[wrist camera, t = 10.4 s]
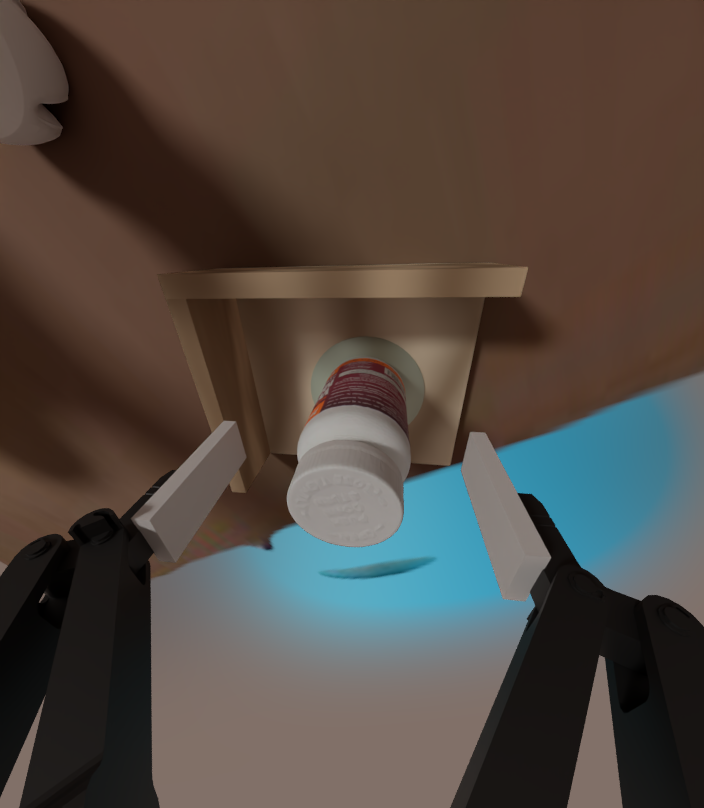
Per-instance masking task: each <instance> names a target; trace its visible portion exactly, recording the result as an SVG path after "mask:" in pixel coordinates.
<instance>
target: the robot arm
mask: <svg viewBox="0 0 704 808" xmlns="http://www.w3.org/2000/svg"><path fill="white" fill-rule="evenodd" d="M246 458H247V457H246V454H245V450H244V447H243V443H242V440H241V436H240V433H239V430H238V426H237V423H236V421H223V422H222V423H221V424H220V425H219V426H218V427H217V428H216V430H215V431H214V432H213V433H212V434H211V435H210V436H209V437H208V438H207V439H206V440H205V441H204V442H203V443H202V444H201V445H200V446H199V447H198V448H197V450H196V451H195V452H194V453H193V454H192V455H191V456H190V457H189V458H188V459H187V460H186V461H185V462H184V463H183V464H182V465H181V466H180V467H179V468H178V469H177V470H172V471H170V472H168V473H167V474H165V475H164V476H162V477H161V478H160V479H159V480H158V481H157V482H156V483H155V484H154V485H153V487H152V488H150V489H149V490H148V491H147V492H146V494H145V495H143V496H142V497H141V498H140V499H139V500H138V501H137V502H136V503H135V504H134V505H133V506H132V507H131V508H130V509H129V510H128V511H127V512H126V513H125V514H124V515H123V516H122V517H121V518H120V519H119V518H118V517H117V516H116V514H115V513H114V511H113V510H111V509H109V508H104V509H99V510H95V511H93V512H91V513H88V514H86V515H85V516H83V517H82V518H80V519H79V520H77V521H76V522H75V523H74V524H73V525H72V526H71V528H70V530H69V531H68V533H69V534H70V535H71V536H72V537H73V539H74V540H70V541H66V540H65V539H64V538H63V537H62V536H61V535H58V534H51V535H47V536H44V537H41V538H39V539H37V540H35V541H33V542H31V543H30V544H28V545H27V546H26V547H24V548H23V549H22V550H21V551H20V552H19V553H18V554H17V555H16V556H15V557H14V559H13V560H12V561H11V563H10V564H9V565H8V567H7V568H6V569H5V571H4V572H3V573H2V575H1V576H0V797H1V794H2V792H3V790H4V787H5V785H6V783H7V781H8V778H9V776H10V774H11V771H12V769H13V767H14V765H15V763H16V760H17V758H18V756H19V753H20V751H21V749H22V747H23V744H24V742H25V740H26V738H27V735H28V733H29V731H30V728H31V726H32V724H33V722H34V719H35V717H36V715H37V713H38V710H39V708H40V706H41V704H42V701H43V699H44V697H45V700H44V704H43V708H42V713H41V717H40V721H39V726H38V730H37V734H36V738H35V743H34V747H33V751H32V756H31V760H30V764H29V768H28V773H27V777H26V781H25V786H24V790H23V794H22V798H21V803H20V807H19V808H160V807H159V802H158V797H157V794H156V792H155V789H154V786H153V780H152V731H151V728H152V726H151V725H152V724H151V596H150V595H151V594H150V593H151V591H150V589H151V588H150V563H149V561H148V559H149V558H150V557H151V555H152V554H153V553H154V554H155V555H156V557H157V558H158V560H159V561H166V562H175V563H176V561H177V560H178V558H179V557H180V555H181V554H182V552H183V551H184V549H185V548H186V546H187V545H188V544H189V542H190V541H191V539H192V538H193V536H194V535H195V533H196V532H197V530H198V529H199V527H200V526H201V524H202V523H203V521H204V520H205V518H206V517H207V515H208V514H209V512H210V511H211V509H212V508H213V506H214V505H215V504H216V502H217V501H218V499H219V498H220V496H221V495H222V493H223V492H224V490H225V489H226V487H227V486H228V484H229V483H230V481H231V480H232V478H233V477H234V475H235V474H236V472H237V471H238V469H239V468H240V466H241V465H242V464H243V462H244V461H245V459H246ZM461 472H462V475H463V478H464V481H465V484H466V487H467V491H468V494H469V497H470V500H471V503H472V506H473V509H474V512H475V515H476V518H477V521H478V524H479V527H480V530H481V533H482V536H483V539H484V542H485V545H486V549H487V552H488V555H489V557H490V561H491V564H492V567H493V570H494V573H495V576H496V579H497V582H498V585H499V588H500V591H501V594H502V597H503V599H508V600H517V601H526V599H527V597H528V596H529V594H531V596H532V599H533V601H534V603H535V607H534V609H533V610H532V612H531V613H530V615H529V616H528V618H527V620H528V623H527V625H526V628H525V630H524V632H523V635H522V637H521V640H520V642H519V644H518V647H517V649H516V652H515V654H514V656H513V659H512V661H511V664H510V666H509V668H508V671H507V673H506V676H505V678H504V680H503V683H502V685H501V687H500V690H499V692H498V695H497V697H496V699H495V702H494V704H493V707H492V709H491V711H490V714H489V716H488V719H487V721H486V723H485V726H484V728H483V730H482V733H481V735H480V738H479V740H478V742H477V745H476V747H475V750H474V752H473V755H472V757H471V759H470V762H469V764H468V766H467V769H466V771H465V774H464V776H463V779H462V781H461V783H460V786H459V788H458V790H457V793H456V795H455V798H454V800H453V803H452V805H451V807H450V808H567V804H568V800H569V795H570V790H571V785H572V780H573V776H574V771H575V767H576V762H577V757H578V752H579V747H580V743H581V738H582V733H583V729H584V724H585V719H586V715H587V710H588V705H589V701H590V696H591V691H592V687H593V681H594V677H595V672H596V668H597V663H598V658H599V655H601V656H603V657H605V661H606V671H607V679H608V687H609V695H610V704H611V713H612V721H613V730H614V738H615V746H616V755H617V763H618V772H619V780H620V788H621V796H622V805H623V808H704V627H703V625H702V624H701V623H700V622H699V621H698V620H697V619H696V618H695V617H694V616H693V615H692V614H691V613H690V612H688V611H687V610H686V609H684V608H683V607H682V606H680V605H679V604H677V603H675V602H673V601H671V600H669V599H667V598H664V597H661V596H658V595H648V596H647V597H645V598H644V599H643V600H642V601H639V600H637V599H634V598H632V597H629V596H626V595H624V594H621V593H618V592H616V591H613V590H611V589H609V588H606V587H605V586H604V585H603V584H602V583H601V582H600V581H599V580H598V579H597V578H596V577H595V576H594V575H592V574H591V573H590V572H588V571H587V570H585V569H583V568H581V567H580V565H579V564H578V562H577V561H576V559H575V557H574V556H573V554H572V552H571V551H570V549H569V547H568V546H567V544H566V542H565V541H564V539H563V537H562V536H561V534H560V532H559V531H558V529H557V528H556V527H555V524H554V522H553V521H552V519H551V518H550V517H549V514H548V512H547V511H546V509H545V508H544V506H543V505H542V503H541V502H540V501H538V500H537V499H536V498H535V497H534V496H533V495H532V494H522V493H517V492H516V490H515V488H514V486H513V484H512V482H511V481H510V478H509V477H508V475H507V473H506V471H505V469H504V467H503V465H502V464H501V461H500V460H499V458H498V456H497V454H496V452H495V450H494V448H493V446H492V444H491V442H490V441H489V439H488V437H487V435H486V433H482V432H470V435H469V439H468V443H467V447H466V451H465V455H464V460H463V464H462V468H461ZM43 593H45V594H46V595H45V597H44V598H43V600H42V601H41V602H40V603H39V601H40V599H41V597H42V595H43Z"/></svg>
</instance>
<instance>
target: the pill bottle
mask: <svg viewBox="0 0 704 808" xmlns="http://www.w3.org/2000/svg"><path fill="white" fill-rule="evenodd" d="M297 457H298V462H299V463H298V465H297V468H296V471H295V474H294V476H293V479H292V481H291V484H290V486H289V489H288V493H287V505H288V509H289V512H290V514H291V516H292V517H293V519H294V520H295V521H296V523H297V524H298V525H299V526H300V527H301V528H303V529H304V530H305V531H306V532H307V533H309V534H311V535H313V536H314V537H316V538H318V539H320V540H322V541H325V542H328V543H331V544H335V545H340V546H347V547H364V546H370V545H374V544H378V543H380V542H382V541H385V540H386V539H388V538H389V537H391V536H392V535H393V534H394V533H395V532H396V531H397V530H398V528H399V527H400V525H401V522H402V519H403V514H404V501H403V482H404V481H405V479H406V477H407V475H408V473H409V469H410V464H411V453H410V441H409V432H408V422H407V410H406V396H405V388H404V384H403V381H402V379H401V377H400V375H399V374H398V373H397V371H396V370H395V369H394V368H393V367H392V366H390V365H389V364H387V363H386V362H384V361H382V360H379V359H376V358H372V357H356V358H352V359H349V360H346V361H344V362H343V363H341V364H340V365H339V366H337V367H336V368H335V369H334V371H333V372H332V373H331V375H330V377H329V378H328V380H327V382H326V384H325V386H324V388H323V390H322V392H321V394H320V396H319V398H318V400H317V402H316V404H315V406H314V408H313V410H312V412H311V414H310V416H309V418H308V420H307V422H306V424H305V427H304V429H303V431H302V433H301V436H300V438H299V441H298V447H297Z"/></svg>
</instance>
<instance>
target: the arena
mask: <svg viewBox="0 0 704 808" xmlns="http://www.w3.org/2000/svg"><path fill="white" fill-rule="evenodd" d="M527 271H528V267H522V266H514V265H505V264H497V263H489V262H480V263H435V264H389V265H343V266H297V267H252V268H216V269H207V270H197V271H187V272H177V273H167V274H157V276H158V279H159V282H160V285H161V287H162V290H163V293H164V296H165V299H166V302H167V305H168V308H169V311H170V313H171V316H172V319H173V322H174V325H175V328H176V331H177V334H178V337H179V339H180V342H181V345H182V348H183V351H184V354H185V357H186V360H187V362H188V365H189V368H190V371H191V374H192V377H193V380H194V383H195V386H196V388H197V391H198V394H199V397H200V400H201V403H202V406H203V409H204V412H205V414H206V417H207V420H208V423H209V426H210V429H211V432H212V433H213V432H214V431H215V430H216V428H217V427H218V426H219V425H220V424H221V423H222V422H223V421H236V423H237V426H238V430H239V433H240V436H241V440H242V443H243V447H244V450H245V454H246V457H247V458H246V459H245V461H244V462H243V464H242V465H241V466H240V468H239V469H238V471H237V472H236V474H235V475H234V477H233V478H232V480H231V481H230V483H229V484H230V487H231V489H232V492H240V493H246V492H247V491H248V489H249V487H250V486H251V484H252V483H253V481H254V479H255V478H256V476H257V474H258V473H259V471H260V469H261V468H262V466H263V464H264V463H265V461H266V460H267V458H268V456H269V455H270V453H278V454H292V455H297V447H298V441H299V438H300V436H301V433H302V431H303V429H304V427H305V424H306V422H307V420H308V418H309V416H310V414H311V412H312V410H313V408H314V406H315V404H316V402H317V400H318V398H319V396H320V394H321V392H322V390H323V388H324V386H325V384H326V382H327V380H328V378H329V377H330V375H331V373H332V372H333V371H334V369H335V368H336V367H337V366H339V365H340V364H341V363H343V362H344V361H346V360H349V359H352V358H356V357H372V358H376V359H379V360H382V361H384V362H386V363H387V364H389V365H390V366H392V367H393V368H394V369H395V370H396V371H397V373H398V374H399V375H400V377H401V379H402V381H403V384H404V388H405V396H406V410H407V422H408V432H409V441H410V453H411V463H418V464H431V465H445V466H450V464H451V459H452V454H453V450H454V445H455V440H456V435H457V430H458V425H459V421H460V416H461V411H462V406H463V401H464V396H465V391H466V387H467V382H468V377H469V372H470V367H471V362H472V358H473V353H474V348H475V343H476V338H477V333H478V329H479V324H480V319H481V314H482V309H483V304H484V300H485V297H521V293H522V289H523V286H524V282H525V278H526V274H527Z"/></svg>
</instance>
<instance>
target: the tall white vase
mask: <svg viewBox="0 0 704 808" xmlns="http://www.w3.org/2000/svg"><path fill="white" fill-rule="evenodd" d="M68 92H69V86H68V82H67V78H66V74H65V71H64V68H63V65H62V63H61V61H60V60H59V58H58V56H57V55H56V53H55V51H54V49H53V48H52V46H51V44H50V43H49V42H48V40H47V39H46V38H45V36H44V35H43V34H42V32H41V31H40V30H39V29H38V28H37V26H36V25H35V24H34V23H33V22H32V21H31V19H30V18H29V17H28V16H27V12H26V9H25V8H24V6H23V5H22V3H21V2H20V1H19V0H0V143H4V144H11V145H36V144H42V143H45V142H48V141H51V140H54V139H56V138H58V137H59V136H60V135H61V132H62V129H63V127H62V125H61V124H60V123H59V122H58V120H57V119H56V118H55V117H54V116H53V115H52V114H51V113H50V112H49V111H48V110H47V109H46V108H45V107H44V106H43V105H42V104H41V103H43V104H57V103H62V102H65V101H67V100H68Z"/></svg>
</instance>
